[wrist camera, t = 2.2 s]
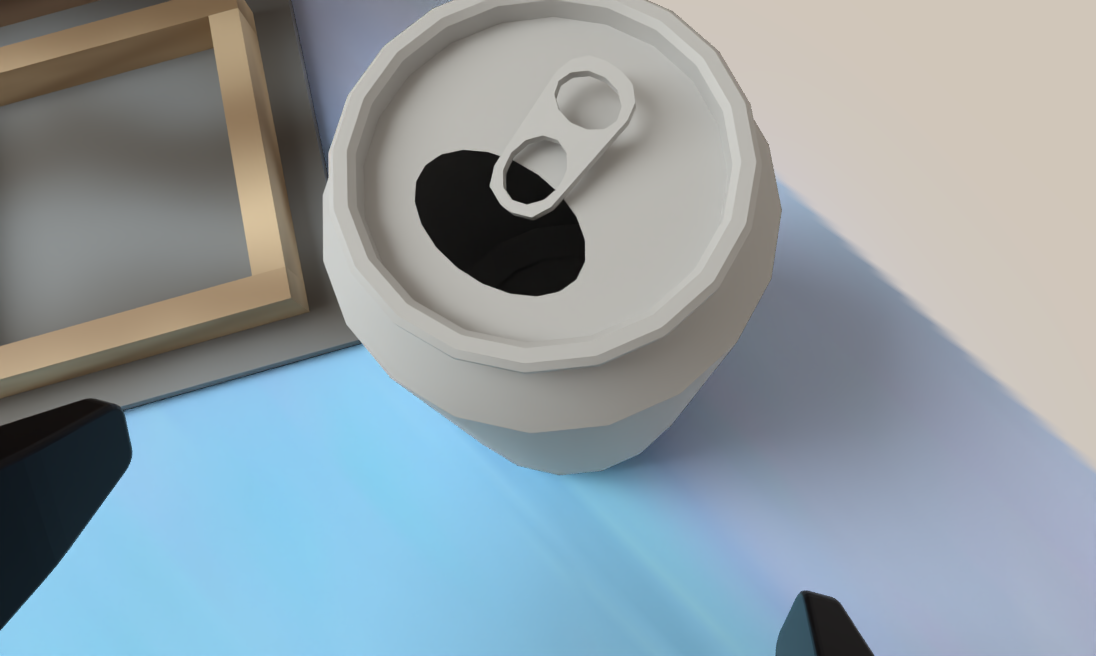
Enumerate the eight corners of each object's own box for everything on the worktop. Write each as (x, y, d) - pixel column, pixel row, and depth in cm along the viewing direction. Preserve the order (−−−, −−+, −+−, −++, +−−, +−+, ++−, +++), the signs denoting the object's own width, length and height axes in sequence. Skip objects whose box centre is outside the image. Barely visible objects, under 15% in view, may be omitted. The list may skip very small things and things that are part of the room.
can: (394, 369, 22) (167, 191, 10) (551, 191, 23) (509, -146, 11) (586, 532, 20) (578, 543, 9) (744, 332, 21) (922, 105, 10)
